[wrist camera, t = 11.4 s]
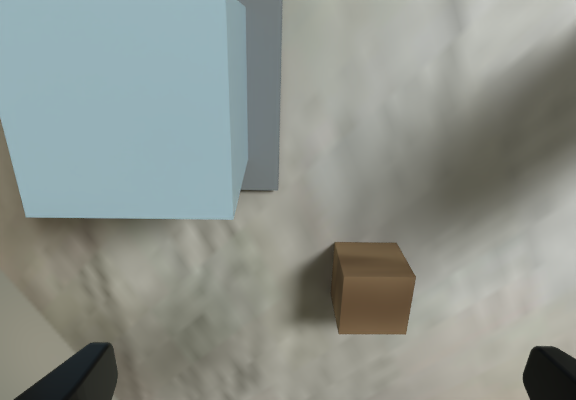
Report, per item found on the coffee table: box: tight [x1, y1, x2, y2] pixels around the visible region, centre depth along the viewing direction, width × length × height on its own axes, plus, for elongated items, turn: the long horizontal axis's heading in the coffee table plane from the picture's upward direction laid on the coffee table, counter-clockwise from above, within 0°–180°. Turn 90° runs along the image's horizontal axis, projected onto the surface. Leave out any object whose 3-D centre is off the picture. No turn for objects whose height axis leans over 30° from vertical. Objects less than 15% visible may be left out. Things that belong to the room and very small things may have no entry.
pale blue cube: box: [0, 0, 248, 220], centre depth 15 cm, size 7×7×7 cm
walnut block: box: [331, 242, 416, 334], centre depth 21 cm, size 4×4×4 cm
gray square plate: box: [238, 0, 282, 190], centre depth 19 cm, size 10×10×1 cm
